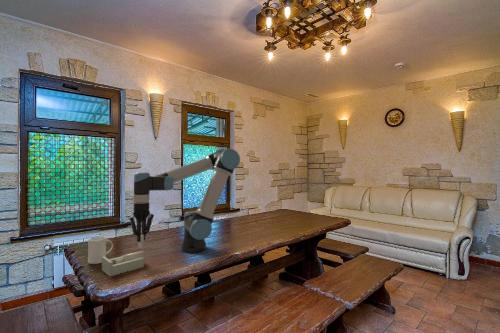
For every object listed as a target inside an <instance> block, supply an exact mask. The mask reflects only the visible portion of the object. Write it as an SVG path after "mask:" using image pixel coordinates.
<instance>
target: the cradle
mask: <svg viewBox="0 0 500 333" xmlns="http://www.w3.org/2000/svg"><path fill="white" fill-rule="evenodd" d="M118 259H121V256H118V257H117V256H116V257H114V258H110V259H109V258H108V257H107V256H106V257H105V256H104V257H102V263H101V271H102V272H104V273H105V274H106V275H107V276H109V277H110V278H111V277H113V276H116V275H120V273H121V274H123V273H127V271H128V272H131V271H134V270H138V269H141V268H144V267H145V265H144V264H145V262H144V261H145V259H144V258H143V257H142V258H138V259H134V260H130V261H126V262H123V263H119V264H115V265H113V260H118Z"/></svg>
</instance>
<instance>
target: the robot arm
mask: <svg viewBox="0 0 500 333" xmlns="http://www.w3.org/2000/svg"><path fill="white" fill-rule="evenodd" d="M240 162H241V157H240V155H239V153H238V151H236V150H235V149H233V148H228V147H227V148H225V149H224V148H222V149H219V150H217V151H215V152H212V153H211V154H208V155H207V156H205V158H202V159H199V160H196V161H194V162H191V163H188V164H185V165H182V166H179V167H177V168H175V169H171V170H169V171H166V172H163V173H161V174H157V175H154V176H151V173H150V172H135V173H134V175H133V176H134V177H133V202H134V203H133V212H132V215H131V216H129V217H128V218H127V219H128V221H129V223H130V226H131V230H132V234H133V235H135V236H136V241H137V242H138V248H140V249H144V247H145V244H144V243H145V241H146V236H147V234H149V233H150V230H151V225H152V223H153V222H152V221H153V219H154V216H155V215H154V214H153V213H151V211H150V191H172V190H173V189H174V184H175V183H177V182H180V181H183V180H186V179H188V178H191V177H193V176H197V175H198V174H202V173H204V172H206V171H209V170H210V171H214V172H213V174H212V177H211V179H210V181H209V184H208V186H207V189H206V191H205V193H204V195H203V198H202V200H201V202H200V205H199V206H198V209H196V210H193V211H191V210H190V211H186V212H185V213H184V214H183V239H182V242H181V244H180V251H181V252H184V253H189V254H192V253H194V254H195V253H200V252H203V251H205V250H206V249H207V244H206V240H205V239H207V238H209V236H210V234H211V233H212V231H213V221H214V220H215V218H214V216H213V215H214V212H215V209H216V207H217V205H218V203H219V200H220V198H221V195H222V193H223V190H224V189H225V185H226V184H227V181H228V178H229V176H232V175H233V173H234V171H235V169H237V168H238V166H240ZM135 220H136V221H135Z"/></svg>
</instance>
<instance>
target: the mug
mask: <svg viewBox="0 0 500 333" xmlns="http://www.w3.org/2000/svg"><path fill="white" fill-rule="evenodd" d="M87 242H88V243H87V244H88V246H87V247H88V248H87V253H88V255H87V263H88V264H89V265H95V264H96V265H97V264H102V257H104V256H105V257H106V258H107V254H109V253H110V252H112V250H113V248H114V245H113V241H112V240H110V239H107V237H106V236H94V237H93V236H92V237H90V238H88V240H87ZM107 242H109V243H110V244H111V248H110V249H109V250H108V251H106V250H107Z"/></svg>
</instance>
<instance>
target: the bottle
mask: <svg viewBox="0 0 500 333" xmlns="http://www.w3.org/2000/svg"><path fill="white" fill-rule="evenodd" d="M120 257H121V259H118V260H113V265H115V264H119V263H123V262H126V261H130V260H134V259H138V258H142V257H143V258H144V260H145V258H146V253H145V251H144V250H139V251H136V252H135V251H134V252H132V253H127V254H122V255H121V256H120Z"/></svg>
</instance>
